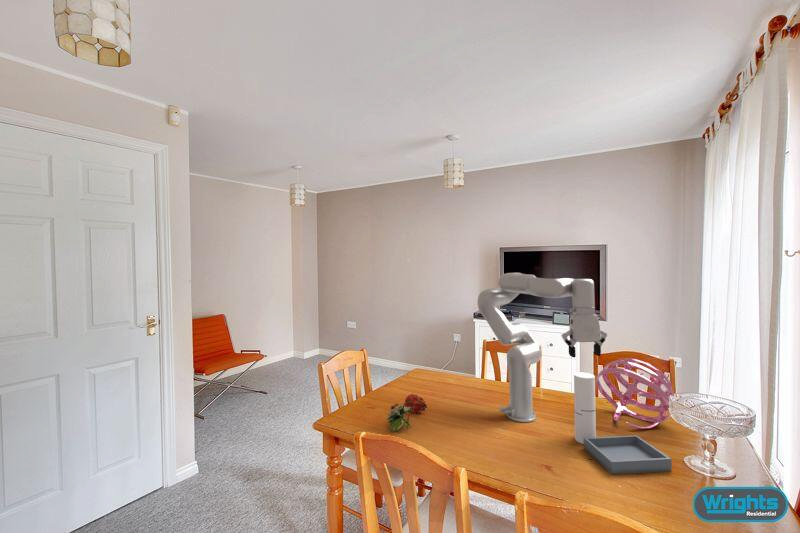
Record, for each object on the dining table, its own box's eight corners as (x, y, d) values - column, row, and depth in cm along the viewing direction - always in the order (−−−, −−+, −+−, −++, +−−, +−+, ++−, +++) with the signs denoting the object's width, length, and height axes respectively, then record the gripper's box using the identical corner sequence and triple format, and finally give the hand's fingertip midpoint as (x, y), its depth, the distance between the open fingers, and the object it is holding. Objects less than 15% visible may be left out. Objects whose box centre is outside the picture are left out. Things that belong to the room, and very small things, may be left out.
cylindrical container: (595, 446, 133) (594, 379, 133) (573, 441, 137) (572, 376, 137) (596, 438, 139) (595, 374, 139) (576, 434, 143) (575, 371, 143)
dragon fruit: (405, 411, 173) (425, 421, 165) (397, 405, 167) (418, 415, 159) (412, 394, 176) (433, 403, 169) (405, 388, 170) (426, 397, 163)
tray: (612, 474, 116) (611, 462, 116) (584, 448, 132) (583, 437, 132) (671, 471, 117) (671, 458, 117) (636, 446, 133) (636, 435, 133)
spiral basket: (632, 393, 132) (659, 343, 144) (571, 388, 157) (598, 346, 169) (676, 450, 134) (699, 396, 146) (609, 437, 159) (633, 391, 171)
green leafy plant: (395, 436, 155) (400, 407, 162) (415, 438, 149) (420, 408, 156) (379, 429, 149) (385, 400, 155) (400, 431, 142) (405, 400, 149)
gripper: (566, 313, 133) (567, 359, 133) (611, 311, 134) (613, 357, 134) (556, 310, 141) (557, 354, 141) (599, 309, 141) (600, 352, 142)
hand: (584, 356), depth 137 cm, fingers open, 9 cm apart
